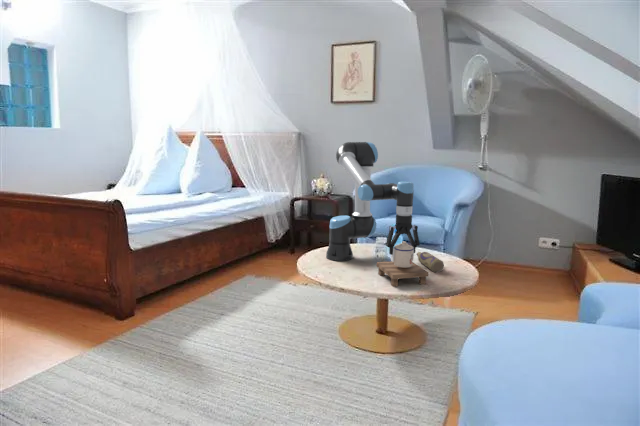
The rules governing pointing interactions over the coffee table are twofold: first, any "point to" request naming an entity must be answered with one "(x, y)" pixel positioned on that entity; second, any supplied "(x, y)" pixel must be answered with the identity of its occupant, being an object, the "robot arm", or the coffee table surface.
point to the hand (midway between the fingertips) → (401, 260)
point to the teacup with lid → (403, 255)
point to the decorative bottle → (430, 261)
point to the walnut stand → (402, 272)
